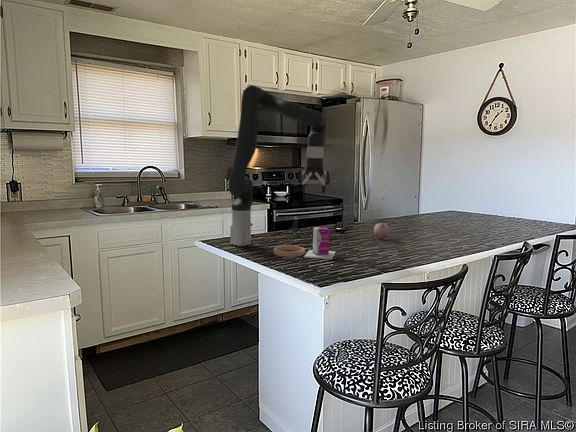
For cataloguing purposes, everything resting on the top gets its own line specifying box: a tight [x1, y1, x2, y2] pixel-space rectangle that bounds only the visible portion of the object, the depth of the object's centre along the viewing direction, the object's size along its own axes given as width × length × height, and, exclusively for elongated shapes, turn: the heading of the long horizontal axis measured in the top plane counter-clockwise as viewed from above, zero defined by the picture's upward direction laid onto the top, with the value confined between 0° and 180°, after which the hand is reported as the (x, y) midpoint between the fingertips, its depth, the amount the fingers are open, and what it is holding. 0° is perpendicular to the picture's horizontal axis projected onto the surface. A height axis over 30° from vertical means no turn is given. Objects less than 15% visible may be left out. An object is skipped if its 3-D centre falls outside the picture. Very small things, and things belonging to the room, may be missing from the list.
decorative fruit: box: [373, 220, 391, 240], centre depth 217 cm, size 9×8×10 cm
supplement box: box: [312, 226, 330, 255], centre depth 180 cm, size 6×6×12 cm
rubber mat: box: [303, 249, 337, 260], centre depth 181 cm, size 12×13×1 cm
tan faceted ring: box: [273, 245, 306, 258], centre depth 184 cm, size 14×14×2 cm
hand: (313, 193), depth 186 cm, fingers open, 8 cm apart
